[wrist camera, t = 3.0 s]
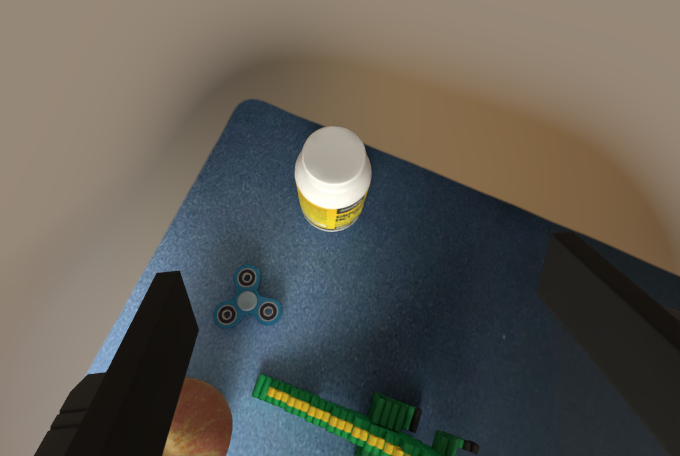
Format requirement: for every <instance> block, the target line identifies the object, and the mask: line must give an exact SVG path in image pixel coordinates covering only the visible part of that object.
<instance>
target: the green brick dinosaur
mask: <svg viewBox="0 0 680 456" xmlns="http://www.w3.org/2000/svg"><path fill="white" fill-rule="evenodd" d="M251 396H253V397H255V398H258V399H260V400H263V401H266V402H268V403H272V404H273V405H275V406H279V407H280V408H283V409H285V411H286V412H289V413H292V414H294V415H297V416H299V417H301V418H305V421H307V422H310V423H313V424H314V425H319V426H320V427H322V428H326V431H328V432H330V433H334V434H335V435H338V436H341V437H343V438H345V439H349V442H351V443H353V444H357V445H358V447H357V450H356V453H355V456H455V455H456V451H457V447H459V448H461V449H464V450H466V451H469V452H472V453H474V454H477V453H478V449H479V445H477V444H476V443H474V442H472V441H470V440H468V441H467V440H463V439H461V438H459V437H456V436H454V435H451V434H448V433H446V432H443V431H441V432H440V431H438V430H436V433H435V437H434V441H433V444H432V447H431V446H429V445H426V444H423V443H422V441H420V440H417V439H414V438H413V437H412V436H411V435H408V434H405V433H403V432H401V429H402V428H404V429H406V430H409V431H411V432H414V433H416V430H417V426H418V423H419V419H420V416H421V412H422V410H421V409H418V408H415V407H413V406H410V405H407V404H405V403H402V402H400V401H397V400H394V399H392V398H390V397H387V396H384V395H381V394H379V393H377V392H375V393H374V396H373V399H372V402H371V405H370V409H369V412H368V415H369V416H370V417H368V416H366V415H364V414H360V413H358V412H356V411H353V410H351V409H347V408H345V407H343V406H340V405H338V404H335V403H332V402H330V401H326V400H325V399H322V398H320V396H318V395H315V394H312V393H310V392H306V391H305V390H302V389H299V388H297V387H294V386H292V385H289V384H286V383H284V382H281V381H279V380H277V379H273V378H271V377H269V376H266V375H264V374H260V375H259V378H258V380H257V383H256V385H255V388H254V390H253V393H252V395H251Z"/></svg>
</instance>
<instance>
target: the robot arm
mask: <svg viewBox="0 0 680 456" xmlns="http://www.w3.org/2000/svg"><path fill="white" fill-rule="evenodd" d="M536 293H537V295H538V296H539V297H540V298H541V299H542V301H543V302H544V303H545V304H546V306H547V307H548V308H549V309H550V310H551V312H552V313H553V314H554V315H555V317H556V318H557V319H558V320H559V321H560V323H561V324H562V325H563V326H564V327H565V329H566V330H567V331H568V332H569V334H570V335H571V336H572V337H573V338H574V340H575V341H576V342H577V343H578V345H579V346H580V347H581V348H582V349H583V351H584V352H585V353H586V354H587V355H588V357H589V358H590V359H591V360H592V362H593V363H594V364H595V365H596V366H597V368H598V369H599V370H600V371H601V373H602V374H603V375H604V376H605V377H606V379H607V380H608V381H609V382H610V384H611V385H612V386H613V387H614V388H615V390H616V391H617V392H618V393H619V394H620V396H621V397H622V398H623V399H624V401H625V402H626V403H627V404H628V405H629V407H630V408H631V409H632V410H633V412H634V413H635V414H636V415H637V416H638V418H639V419H640V420H641V421H642V422H643V424H644V425H645V426H646V427H647V429H648V430H649V431H650V432H651V433H652V435H653V436H654V437H655V438H656V440H657V441H658V442H659V443H660V444H661V446H662V447H663V448H664V449H665V451H666V452H667V453H668V454H669V455H670V456H680V312H679V311H677V310H675V309H673V308H671V307H669V308H663V307H662V306H661V305H660V304H658V303H657V302H656V301H655V300H654V299H652V298H651V297H650V296H649V295H648V294H646V293H645V292H644V291H643V290H642V289H640V288H639V287H638V286H637V285H636V284H635V283H633V282H632V281H631V280H630V279H629V278H627V277H626V276H625V275H624V274H623V273H621V272H620V271H619V270H618V269H617V268H615V267H614V266H613V265H612V264H611V263H609V262H608V261H607V260H606V259H605V258H603V257H602V256H601V255H600V254H599V253H598V252H596V251H595V250H594V249H593V248H592V247H590V246H589V245H588V244H587V243H586V242H584V241H583V240H582V239H581V238H580V237H578V236H577V235H576V234H575V233H574V232H563V233H553V234H552V236H551V239H550V243H549V247H548V251H547V254H546V258H545V262H544V266H543V269H542V273H541V277H540V280H539V284H538V288H537V292H536ZM198 331H199V328H198V325H197V322H196V319H195V316H194V313H193V310H192V307H191V304H190V301H189V298H188V295H187V292H186V289H185V286H184V282H183V279H182V276H181V273H180V271H171V272H161V273H156V275H155V277H154V279H153V281H152V283H151V285H150V287H149V289H148V291H147V293H146V295H145V297H144V299H143V301H142V303H141V305H140V307H139V309H138V311H137V313H136V315H135V317H134V319H133V321H132V322H131V324H130V326H129V328H128V330H127V332H126V334H125V336H124V338H123V340H122V342H121V344H120V346H119V348H118V350H117V352H116V354H115V356H114V358H113V360H112V362H111V364H110V366H109V368H108V370H107V372H105V373H96V374H88V375H87V376H86V377H85V378H84V379H83V380H82V381H81V382H80V383H79V384H78V385H77V386H76V387H75V388H74V389H73V390H72V391H71V392H70V393H69V395H68V397H67V399H66V400H65V402H64V404H63V406H62V408H61V409H60V414H59V415H57V416H56V418H55V420H54V421H53V423H52V425H51V429H50V431H48V432H47V434H46V435H45V437H44V439H43V441H42V442H41V444H40V446H39V448H38V450H37V451H36V453H35V455H34V456H162V455H163V452H164V448H165V445H166V441H167V438H168V434H169V431H170V427H171V424H172V421H173V417H174V414H175V410H176V407H177V403H178V400H179V396H180V393H181V390H182V386H183V383H184V379H185V376H186V372H187V369H188V366H189V362H190V359H191V355H192V352H193V348H194V345H195V341H196V338H197V335H198Z"/></svg>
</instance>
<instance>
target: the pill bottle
mask: <svg viewBox="0 0 680 456" xmlns="http://www.w3.org/2000/svg"><path fill="white" fill-rule="evenodd" d="M371 173H372V171H371V164H370V161H369V158H368V156H367V154H366V150H365V147H364V144H363V142H362V141H361V139H360V138H359V137H358V136H357V135H356V134H355V133H354V132H352V131H351V130H349V129H347V128H344V127H340V126H328V127H324V128H321V129H319V130H317V131H315V132H314V133H312V134H311V135H310V136H309V138H308V139H307V140H306V142H305V144H304V146H303V150H302V151H301V153H300V154H299V156H298V158H297V161H296V165H295V180H296V185H297V190H298V195H299V201H300V206H301V209H302V212H303V214H304V216H305V218H306V219H307V220H308V221H309V222H310V223H311V224H312V225H313V226H315V227H316V228H318V229H321V230H324V231H330V232H333V231H340V230H343V229H345V228H347V227H349V226H350V225H352V224H353V223H354V222H355V221H356V220H357V218H358V217H359V215H360V213H361V211H362V208H363V205H364V201H365V198H366V195H367V191H368V188H369V185H370V182H371Z"/></svg>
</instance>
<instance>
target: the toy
mask: <svg viewBox="0 0 680 456" xmlns="http://www.w3.org/2000/svg"><path fill="white" fill-rule="evenodd" d="M246 275H250V277H251V278H250V280H249V281H245V280H244V277H245V276H246ZM260 281H261V274H260V272H259V270H258V269H257V268H256V267H254V266H252V265H243V266H241V267H239V268H238V269H237V270H236V272H235V274H234V283H235V285H236V287H237V294H236V296H235V297H234V298H233V299H232V300H230V301H224V302H222V303H220V304H219V305H217V307H216V308H215V310H214V313H213V319H214V322H215V323H216V325H217V326H219V327H220V328H223V329H229V328H233V327H235V326H236V325H237V324H238V323H239V322H240V320H241V318H242V317H243V316H245V315H253V316H254V317H255V318H256V319H257V320H258V322H260V323H261V324H263V325H273V324H275V323H277V322H278V321H279V320H280V318H281V316H282V306H281V304H280V303H279V302H278V301H277V300H275V299H273V298H263V297H262V296H261V295H260V294H259V292H258V286H259V284H260ZM267 308H271V309H272V313H271V314H270V315H266V313H265V311H266V309H267ZM227 311H229V312H230V314H231V316H230V317H229V318H225V316H224V315H225V312H227Z"/></svg>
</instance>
